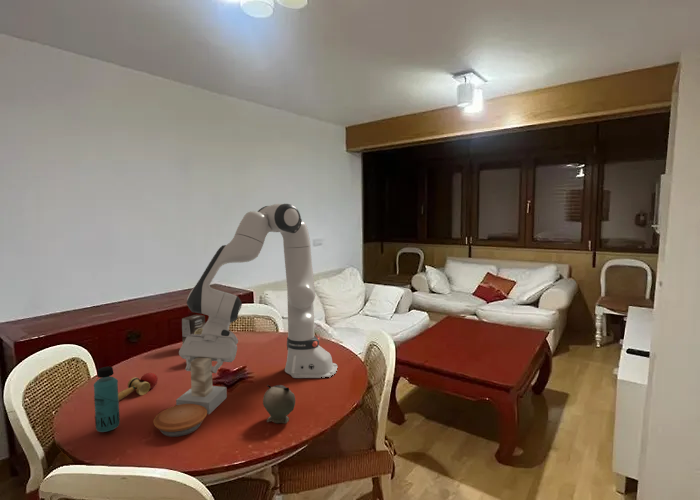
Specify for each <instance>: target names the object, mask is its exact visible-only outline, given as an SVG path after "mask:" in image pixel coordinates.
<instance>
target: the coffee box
mask: <svg viewBox="0 0 700 500" xmlns="http://www.w3.org/2000/svg"><path fill="white" fill-rule="evenodd" d="M205 324H206V316H205V315H204V314H203V315H202V314H193V315H189V316H187V317H186V316H185V317H183V318H181V332H182V333H181V334H182V336H181V337H182V344H183V343H184V342H185V339H186V337H187V336H189V335H191V334H201V333H202V331H203V328H204V326H205Z"/></svg>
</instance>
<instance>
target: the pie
mask: <svg viewBox="0 0 700 500" xmlns="http://www.w3.org/2000/svg"><path fill="white" fill-rule="evenodd" d="M207 415H208V414H207V409H206V408H205V407H203V406H200V405H196V404H180V405H173V406H171V407H168V408H166V409H165V410H162V411H160V412H159V413H158V414H156V415H155V416H154V419H153V425H154V426H155V428H156V429H158V430H159V431H160V433H162V434H163V436H166V437H171V438H173V437H174V438H176V437H183V436H186V435H189V434H191V433H194V432H195V431H197V430H198V429H199V427H201V425H202V423H203V421H204V420H205V419H206V418H207Z"/></svg>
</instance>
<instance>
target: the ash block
mask: <svg viewBox="0 0 700 500" xmlns="http://www.w3.org/2000/svg"><path fill="white" fill-rule="evenodd" d="M212 363H213V361H212V358H205V357H197V358H196V359H194V360H193V361H191V362H190V364H191V371H190V383H191V384H190V386H191V387H190V389H191V390H192V396H199V397H206V396H207V395H208V394H209V393H210V392H212V391H213V387H212V386H213V373H212V372H211V368H212V366H213V364H212Z"/></svg>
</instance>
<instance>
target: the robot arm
mask: <svg viewBox="0 0 700 500" xmlns="http://www.w3.org/2000/svg"><path fill="white" fill-rule="evenodd" d="M269 232H271V233H280V234H281V236H282V241H283V254H284V255H283V256H284V268H285V276H286V278H285V279H286V290H287V337H286V338H287V339H286V347H287V348H286V349H287V350H286V351H287V357H286V362H285V366H284V372H285V374H288V375H290V376H291V377H292V378H294V379H326V378H325V377H329V378H332V377H333V376H335V375H336V374H337V372H338V370H337V368H338V364H337V363H335V362H333V358H332V355H331V353H330V352H329V351H327V350H326V349H325V348H323V347H322V346H320V337H316V336H315V310H314V301H315V299H316V289H315V279H314V271H313V262H312V249H311V240H310V235H309V234H310V233H309V229H308V227H307V224H306V222H304V221H303V219H302V218H301V213H300V210H299V209H298V208H297V207H296V206H295V205H292V204H289V203H274V204H272V205H271V204H270V205H266V206H262V207H261V208H260V209H258V210H257V211H256V210H252V211H247V212H246V213H245V215H244V216H243V217H242V219H241V221H240V223H239V225H238V227H237V229H236V231H235V234H234V236H233V238H232V239H231V241H229V243H227V244H224V245H221V246H219V248H218V249H217V251H216V252H215V254H214V255H213V257H212V258H211V260H210V262H209V263H208V265H207V267H205V270H204V272H203V273H202V275H201V276H200V278H199V280H198V281H197V283H196V284H195V285H194V287H193V288H192V289H191V290H190V292H189V294H188V296H187V298H186V306H187V307H188V309H189V310H190V311H191V312H192V313H196V314H199V315H202V314H203V315H204V316H205V315H206V316H208V318H207V321H205V326H204V328H203V331H202V333H201V334H191V335H189V336H187V337H186V339H185V342H184V343H183V342H182V344H181V347H180V349H179V351H178V355H179V357H181V359H183V360H185V361H186V362H185V364H186V366H185V369H184V370H185V371H186V372H191V361H193V360H194V359H196V358H197V357H205V358H212V362H216V364H215V365H212V368H211V372H212V374H217V372H218V370H219V369H220V367H221V366H222V365H223V364H224V363H232V362H233V361H235V359H236V356H237V351H238V345H237V344H238V343H239V339H238V337H237V335H236V334H235V333H234V332H233V331H231V330H230V325H231V324H233V322H235V321H237V320H238V316H239V313H240V310H241V308H242V306H243V303H242V301H241V299H240V297H239V296H238V295H235V294H232V293H230V292H227V291H223V290H219V289H217V288H216V289H215V288H213V287H211V284H212V281H213V279H214V278H215V277H216V275H217V274H218V271H219V270H220V269H221V268H222V266H224V265H227V264H236V263H238V264H239V263H248V262H251V261H254V260H256V259H257V258H258V257H259V255H260V253H261V251H262V249H263V247H264V243H265V240H266V237H267V236H268V234H269ZM336 371H337V372H336ZM334 374H335V375H334ZM332 375H333V376H332ZM331 376H332V377H331ZM321 377H322V378H321Z"/></svg>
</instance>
